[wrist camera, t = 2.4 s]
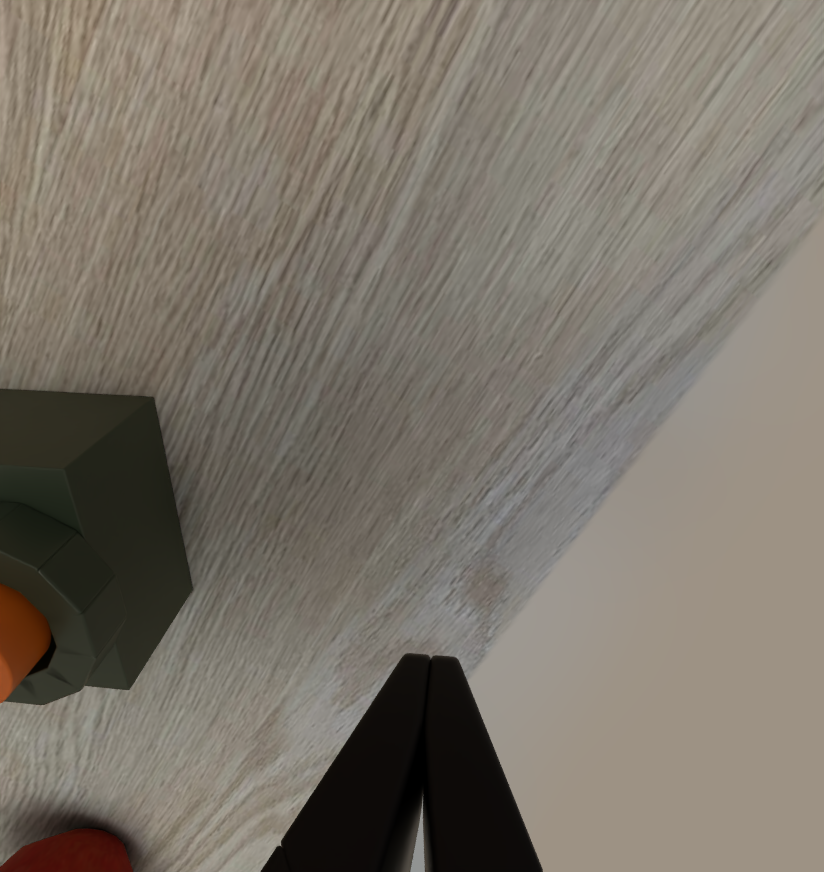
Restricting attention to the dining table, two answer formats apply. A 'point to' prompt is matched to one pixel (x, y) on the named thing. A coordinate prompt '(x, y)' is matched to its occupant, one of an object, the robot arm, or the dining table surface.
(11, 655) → the buzzer button
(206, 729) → the dining table surface
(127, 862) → the apple
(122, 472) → the green buzzer box
